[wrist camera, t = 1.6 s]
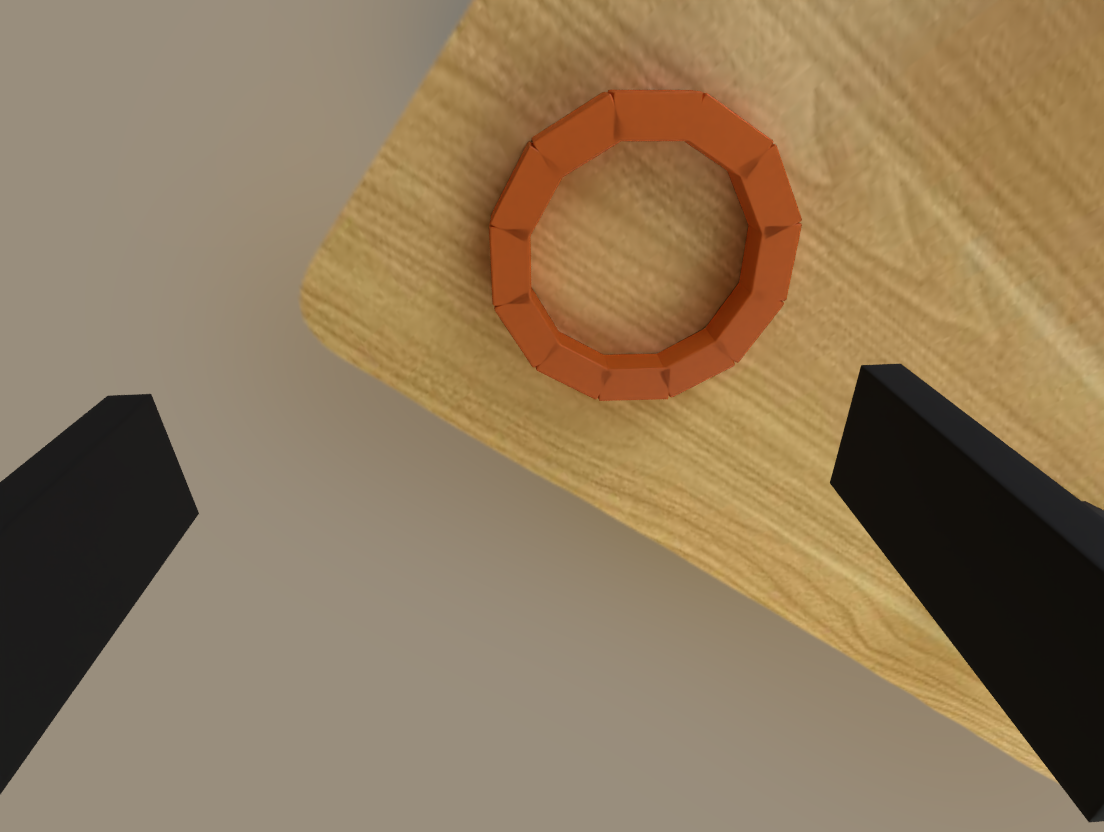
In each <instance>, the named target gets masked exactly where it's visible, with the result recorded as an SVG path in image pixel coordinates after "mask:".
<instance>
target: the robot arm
mask: <svg viewBox="0 0 1104 832" xmlns="http://www.w3.org/2000/svg"><path fill="white" fill-rule="evenodd" d="M830 484H831V485H832V486H833V488H834V489H835V490H836V492H837V493H838V494H839V496H840V497H841V498H842V500H843V501H844V502H845V503H846V505H847V506H848V507H849V509H850V510H851V511H852V513H853V514H854V515H855V517H856V518H857V519H858V520H859V522H860V523H861V524H862V526H863V527H864V528H865V530H866V531H867V532H868V534H869V535H870V536H871V538H872V539H873V540H874V541H875V543H876V544H877V545H878V547H879V548H880V549H881V551H882V552H883V553H884V555H885V556H886V557H887V558H888V560H889V561H890V562H891V564H892V565H893V566H894V568H895V569H896V570H897V572H898V573H899V574H900V575H901V577H902V578H903V579H904V581H905V582H906V583H907V585H908V586H909V587H910V589H911V590H912V591H913V592H914V594H915V595H916V596H917V598H918V599H919V600H920V602H921V603H922V604H923V606H924V607H925V608H926V610H927V611H928V612H929V613H930V615H931V616H932V617H933V619H934V620H935V621H936V623H937V624H938V625H939V627H940V628H941V629H942V630H943V632H944V633H945V634H946V636H947V637H948V638H949V640H950V641H951V642H952V644H953V645H954V646H955V647H956V649H957V650H958V651H959V653H960V654H961V655H962V657H963V658H964V659H965V661H966V662H967V663H968V665H969V666H970V667H971V668H972V670H973V671H974V672H975V674H976V675H977V676H978V678H979V679H980V680H981V682H982V683H983V684H984V685H985V687H986V688H987V689H988V691H989V692H990V693H991V695H992V696H993V697H994V699H995V700H996V701H997V702H998V704H999V705H1000V706H1001V708H1002V709H1003V710H1004V712H1005V713H1006V714H1007V716H1008V717H1009V718H1010V719H1011V721H1012V722H1013V723H1014V725H1015V726H1016V727H1017V729H1018V730H1019V731H1020V733H1021V734H1022V735H1023V737H1024V738H1025V739H1026V740H1027V742H1028V743H1029V744H1030V746H1031V747H1032V748H1033V750H1034V751H1035V752H1036V754H1037V755H1038V756H1039V757H1040V759H1041V760H1042V761H1043V763H1044V764H1045V765H1046V767H1047V768H1048V769H1049V771H1050V772H1051V773H1052V774H1053V776H1054V777H1055V778H1056V780H1057V781H1058V782H1059V784H1060V785H1061V786H1062V788H1063V789H1064V790H1065V791H1066V793H1067V794H1068V795H1069V797H1070V798H1071V799H1072V801H1073V802H1074V803H1075V804H1076V806H1077V807H1078V808H1079V810H1080V811H1081V812H1082V814H1083V815H1084V816H1085V818H1086V819H1087V820H1088V821H1089V822H1099V821H1104V510H1102V509H1100V508H1098V507H1096V506H1094V505H1092V504H1090V503H1088V502H1086V501H1080V500H1079V499H1078V498H1076V497H1075V496H1074V495H1072V494H1071V493H1070V492H1068V491H1067V490H1066V489H1064V488H1063V487H1062V486H1060V485H1059V484H1058V483H1057V482H1055V481H1054V480H1053V479H1051V478H1050V477H1049V476H1047V475H1046V474H1045V473H1043V472H1042V471H1041V470H1039V469H1038V468H1037V467H1036V466H1034V465H1033V464H1032V463H1030V462H1029V461H1028V460H1026V459H1025V458H1024V457H1022V456H1021V455H1020V454H1018V453H1017V452H1016V451H1015V450H1013V449H1012V448H1011V447H1009V446H1008V445H1007V444H1005V443H1004V442H1003V441H1001V440H1000V439H999V438H997V437H996V436H995V435H994V434H992V433H991V432H990V431H988V430H987V429H986V428H984V427H983V426H982V425H980V424H979V423H978V422H976V421H975V420H974V419H973V418H971V417H970V416H969V415H967V414H966V413H965V412H963V411H962V410H961V409H959V408H958V407H957V406H955V405H954V404H953V403H952V402H950V401H949V400H948V399H946V398H945V397H944V396H942V395H941V394H940V393H938V392H937V391H936V390H934V389H933V388H932V387H931V386H929V385H928V384H927V383H925V382H924V381H923V380H921V379H920V378H919V377H917V376H916V375H915V374H913V373H912V372H911V371H910V370H908V369H907V368H906V367H904V366H903V365H902V364H882V365H861V368H860V372H859V376H858V379H857V383H856V387H855V391H854V394H853V398H852V402H851V406H850V409H849V413H848V417H847V421H846V424H845V428H844V432H843V436H842V439H841V443H840V447H839V451H838V454H837V458H836V462H835V466H834V469H833V473H832V477H831V481H830ZM198 514H199V513H198V510H197V507H196V505H195V502H194V500H193V497H192V495H191V492H190V490H189V487H188V485H187V483H186V480H185V478H184V475H183V472H182V470H181V468H180V465H179V462H178V460H177V457H176V455H175V452H174V450H173V447H172V445H171V443H170V440H169V438H168V435H167V432H166V430H165V428H164V426H163V423H162V420H161V417H160V415H159V413H158V410H157V407H156V405H155V402H154V400H153V397H152V395H151V394H142V395H140V394H139V395H117V396H116V395H115V396H107V397H106V398H104V399H103V400H102V401H101V402H99V403H98V404H97V405H96V406H94V407H93V408H92V409H91V410H89V411H88V412H87V413H86V414H84V415H83V416H82V417H81V418H79V419H78V420H77V421H76V422H75V423H73V424H72V425H71V426H70V427H68V428H67V429H66V430H65V431H63V432H62V433H61V434H60V435H58V436H57V437H56V438H55V439H53V440H52V441H51V442H50V443H48V444H47V445H46V446H45V447H43V448H42V449H41V450H40V451H39V452H38V453H36V454H35V455H34V456H33V457H31V458H30V459H29V460H27V461H26V462H25V463H24V464H23V465H21V466H20V467H19V468H17V469H16V470H15V471H14V472H12V473H11V474H10V475H9V476H8V477H6V478H5V479H4V480H3V481H1V482H0V794H1V793H2V791H3V790H4V788H5V787H6V786H7V784H8V782H9V781H10V780H11V779H12V777H13V776H14V774H15V773H16V771H17V770H18V769H19V767H20V766H21V764H22V763H23V761H24V760H25V759H26V757H27V756H28V755H29V753H30V752H31V750H32V749H33V747H34V746H35V745H36V743H37V742H38V740H39V739H40V738H41V736H42V735H43V733H44V732H45V730H46V729H47V728H48V726H49V725H50V723H51V722H52V721H53V719H54V718H55V716H56V715H57V713H58V712H59V711H60V709H61V708H62V706H63V705H64V703H65V702H66V701H67V699H68V698H69V696H70V695H71V694H72V692H73V691H74V689H75V688H76V687H77V685H78V684H79V682H80V681H81V680H82V678H83V677H84V675H85V674H86V672H87V671H88V670H89V668H90V667H91V665H92V664H93V663H94V661H95V660H96V658H97V657H98V655H99V654H100V653H101V651H102V650H103V648H104V647H105V645H106V644H107V643H108V641H109V640H110V638H111V637H112V636H113V634H114V633H115V631H116V630H117V628H118V627H119V625H120V624H121V623H122V621H123V620H124V619H125V617H126V616H127V614H128V613H129V612H130V610H131V609H132V607H133V606H134V604H135V603H136V602H137V600H138V599H139V597H140V596H141V595H142V593H143V592H144V590H145V589H146V588H147V586H148V585H149V583H150V582H151V581H152V579H153V578H154V576H155V575H156V573H157V572H158V571H159V569H160V568H161V566H162V565H163V564H164V562H165V561H166V559H167V558H168V556H169V555H170V554H171V552H172V551H173V549H174V548H175V547H176V545H177V544H178V542H179V541H180V539H181V538H182V537H183V535H184V534H185V532H186V531H187V529H188V528H189V526H190V525H191V524H192V522H193V521H194V520H195V518H196V517H197V515H198Z"/></svg>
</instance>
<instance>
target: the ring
mask: <svg viewBox="0 0 1104 832" xmlns="http://www.w3.org/2000/svg"><path fill="white" fill-rule="evenodd" d="M620 141H685V142H686V143H688V144H689V145H691V146H692V147H693V148H695V149H696V150H698V151H699V152H701V153H702V154H704V155H705V156H707V157H708V158H710V159H711V160H713V161H714V162H715V163H717V164H718V165H720V166H721V167H723V168H724V169H726V170H727V171H728V174H729V176H730V179H731V182H732V184H733V187H734V189H735V192H736V194H737V197H738V199H739V202H740V204H741V207H742V210H743V212H744V215H745V217H746V220H747V222H748V225H749V226H748V232H747V238H746V244H745V250H744V256H743V262H742V268H741V274H740V281H739V283H738V284H737V286H736V287H735V289H734V290H733V291H732V293H731V294H730V295H729V297H728V298H727V299H726V301H725V302H724V303H723V305H722V306H721V308H720V309H719V310H718V312H717V313H716V314H715V316H714V317H713V318H712V320H711V321H710V322H709V324H708V325H707V327H706V328H705V329H703V330H701V331H699V332H697V333H695V334H693V335H691V336H690V337H688V338H686V339H684V340H682V341H680V342H678V343H676V344H674V345H673V346H671V347H669V348H667V349H665V350H663V351H661V352H659V353H657V354H619V355H603V354H601V353H599V352H597V351H595V350H593V349H591V348H589V347H588V346H586V345H584V344H582V343H580V342H578V341H576V340H574V339H572V338H570V337H568V336H567V335H565V334H563V333H561V332H559V331H558V330H557V328H556V326H555V325H554V323H553V322H552V320H551V318H550V317H549V315H548V313H547V312H546V310H545V309H544V307H543V305H542V304H541V302H540V300H539V299H538V297H537V296H536V294H535V292H534V291H533V289H532V287H531V244H530V236H531V234H532V232H533V230H534V228H535V227H536V225H537V223H538V221H539V219H540V217H541V216H542V214H543V212H544V210H545V208H546V207H547V205H548V203H549V201H550V199H551V197H552V196H553V194H554V192H555V190H556V188H557V187H558V185H559V183H560V181H561V179H562V177H564V176H566V175H567V174H569V173H570V172H572V171H574V170H575V169H577V168H578V167H580V166H582V165H583V164H585V163H587V162H588V161H590V160H591V159H593V158H595V157H596V156H598V155H599V154H601V153H603V152H604V151H606V150H608V149H609V148H611V147H612V146H614V145H616V144H617V143H619V142H620ZM532 142H533V143H532ZM532 142H530V141H529V142H528V143H527V145H526V147H525V149H524V151H523V153H522V155H521V157H520V159H519V161H518V163H517V165H516V167H515V169H514V171H513V173H512V175H511V176H510V178H509V180H508V182H507V184H506V186H505V188H504V190H503V192H502V194H501V196H500V198H499V200H498V202H497V204H496V206H495V208H494V210H493V212H492V214H491V220H490V225H489V240H490V260H491V280H492V301H493V305H495V307H494V309H495V311H496V313H497V314H498V316H499V317H500V319H501V320H502V322H503V323H504V325H505V326H506V328H507V329H508V331H509V332H510V334H511V335H512V337H513V338H514V340H515V341H516V343H517V344H518V346H519V347H520V349H521V350H522V352H523V353H524V355H525V357H526V358H527V360H528V361H529V363H530V364H531V366H532V367H536V370H537V371H539V372H541V373H543V374H545V375H547V376H549V377H551V378H553V379H555V380H557V381H559V382H561V383H563V384H565V385H567V386H569V387H571V388H573V389H575V390H577V391H579V392H581V393H583V394H585V395H588V396H590V397H592V398H594V399H597V398H599V401H610V400H648V399H668V396H670V397H674V396H676V395H678V394H680V393H682V392H684V391H686V390H687V389H689V388H691V387H693V386H695V385H697V384H699V383H701V382H703V381H705V380H707V379H709V378H711V377H713V376H715V375H717V374H719V373H721V372H723V371H725V370H727V369H729V368H731V367H733V366H734V365H735V363H734V362H737V363H738V362H739V361H740V360H741V358H742V357H743V356H744V355H745V353H746V352H747V351H748V350H749V348H750V347H751V346H752V344H753V343H754V342H755V341H756V339H757V338H758V337H759V336H760V334H761V333H762V332H763V330H764V329H765V328H766V327H767V325H768V324H769V323H770V322H771V320H772V319H773V318H774V316H775V315H776V314H777V313H778V311H779V310H780V309H781V308H782V306H783V305H784V303H783V302H782V301H785V300H786V299H787V294H788V289H789V284H790V279H791V274H792V270H793V265H794V260H795V255H796V250H797V246H798V241H799V236H800V231H801V226H802V224H801V223H799V222H800V221H802V218H801V216H800V213H799V210H798V207H797V204H796V201H795V198H794V195H793V192H792V189H791V186H790V183H789V181H788V178H787V175H786V172H785V169H784V166H783V163H782V160H781V157H780V154H779V151H778V149H777V146H776V145H775V144H773V140H771V139H770V138H768V137H767V136H766V135H764V134H763V133H762V132H760V131H759V130H757V129H756V128H755V127H753V126H752V125H750V124H749V123H748V122H746V121H745V120H744V119H742V118H741V117H739V116H738V115H737V114H735V113H734V112H732V111H731V110H730V109H728V108H727V107H726V106H724V105H723V104H721V103H720V102H719V101H717V100H716V99H714V98H713V97H712V96H710V95H709V94H707V93H703V92H701V91H693V90H608V93H606V92H602V93H601V94H599V95H598V96H596V97H595V98H593V99H591V100H590V101H588V102H587V103H585V104H584V105H582V106H580V107H579V108H577V109H576V110H574V111H573V112H571V113H570V114H568V115H566V116H565V117H563V118H562V119H560V120H559V121H557V122H556V123H554V124H552V125H551V126H549V127H548V128H546V129H545V130H543V131H542V132H540V133H538V134H537V135H535V136H534V137H533V138H532Z"/></svg>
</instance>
